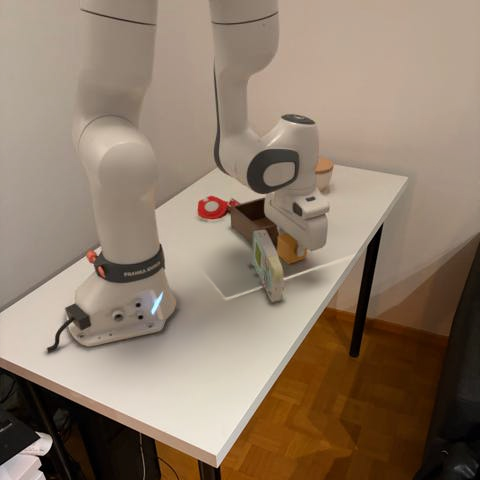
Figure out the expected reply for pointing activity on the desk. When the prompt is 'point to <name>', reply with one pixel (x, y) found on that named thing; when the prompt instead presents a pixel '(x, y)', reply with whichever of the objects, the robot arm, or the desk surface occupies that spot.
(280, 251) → the block
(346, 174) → the desk surface
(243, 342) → the desk surface
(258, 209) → the chest
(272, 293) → the handheld gaming console
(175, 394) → the desk surface
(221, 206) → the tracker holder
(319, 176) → the trinket box
